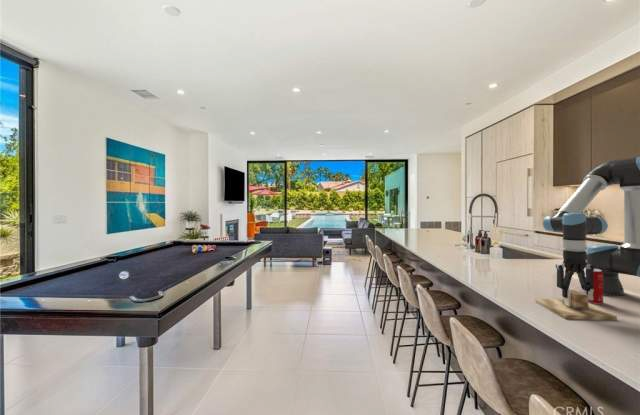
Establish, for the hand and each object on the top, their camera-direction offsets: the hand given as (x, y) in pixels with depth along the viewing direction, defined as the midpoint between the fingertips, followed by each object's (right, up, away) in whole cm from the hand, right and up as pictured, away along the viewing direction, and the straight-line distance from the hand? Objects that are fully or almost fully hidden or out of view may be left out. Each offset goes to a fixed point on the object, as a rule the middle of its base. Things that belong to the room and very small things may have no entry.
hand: (575, 305), depth 126 cm
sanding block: (0, 0, 0) cm, 0 cm away
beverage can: (+16, -2, +9) cm, 19 cm away
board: (-1, -2, 0) cm, 2 cm away
